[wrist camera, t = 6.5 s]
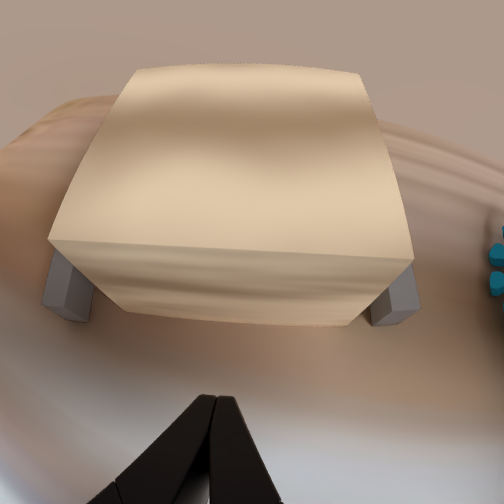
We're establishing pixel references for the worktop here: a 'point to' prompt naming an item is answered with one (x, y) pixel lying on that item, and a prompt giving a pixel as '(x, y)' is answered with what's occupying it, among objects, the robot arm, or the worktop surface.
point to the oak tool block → (238, 197)
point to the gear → (497, 279)
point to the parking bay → (81, 288)
